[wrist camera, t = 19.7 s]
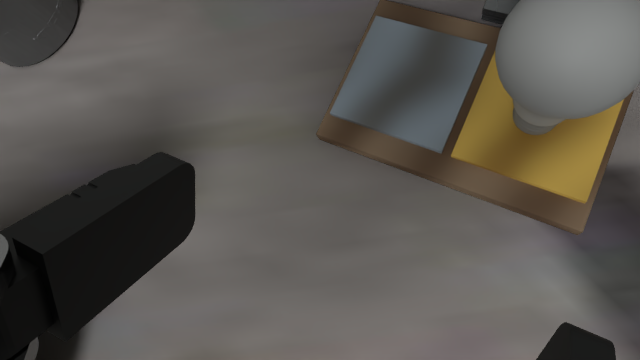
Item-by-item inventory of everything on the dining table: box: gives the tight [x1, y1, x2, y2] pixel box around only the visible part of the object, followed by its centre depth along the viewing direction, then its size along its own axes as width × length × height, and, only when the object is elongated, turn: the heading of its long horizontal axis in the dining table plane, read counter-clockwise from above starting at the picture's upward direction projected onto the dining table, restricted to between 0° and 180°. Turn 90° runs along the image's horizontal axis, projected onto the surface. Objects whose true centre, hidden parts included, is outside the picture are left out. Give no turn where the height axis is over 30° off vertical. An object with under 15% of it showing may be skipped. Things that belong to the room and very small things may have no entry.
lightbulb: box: [495, 0, 640, 135], centre depth 22 cm, size 6×6×11 cm
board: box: [316, 0, 634, 235], centre depth 29 cm, size 17×11×1 cm, turn 65°
